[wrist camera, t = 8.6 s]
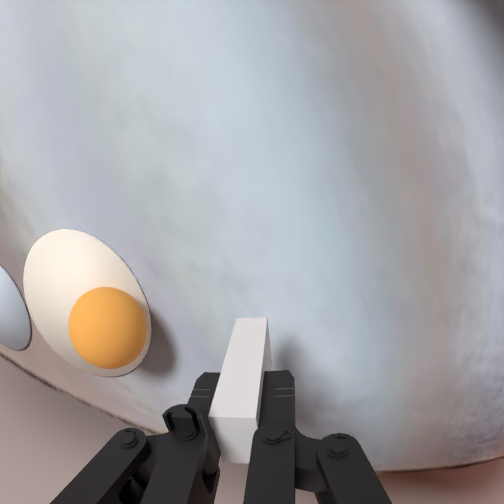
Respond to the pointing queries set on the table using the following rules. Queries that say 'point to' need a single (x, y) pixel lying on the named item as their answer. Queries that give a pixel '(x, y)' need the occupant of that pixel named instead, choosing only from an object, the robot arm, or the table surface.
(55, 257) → the disc
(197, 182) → the table surface
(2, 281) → the pale blue disc
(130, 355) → the ball
